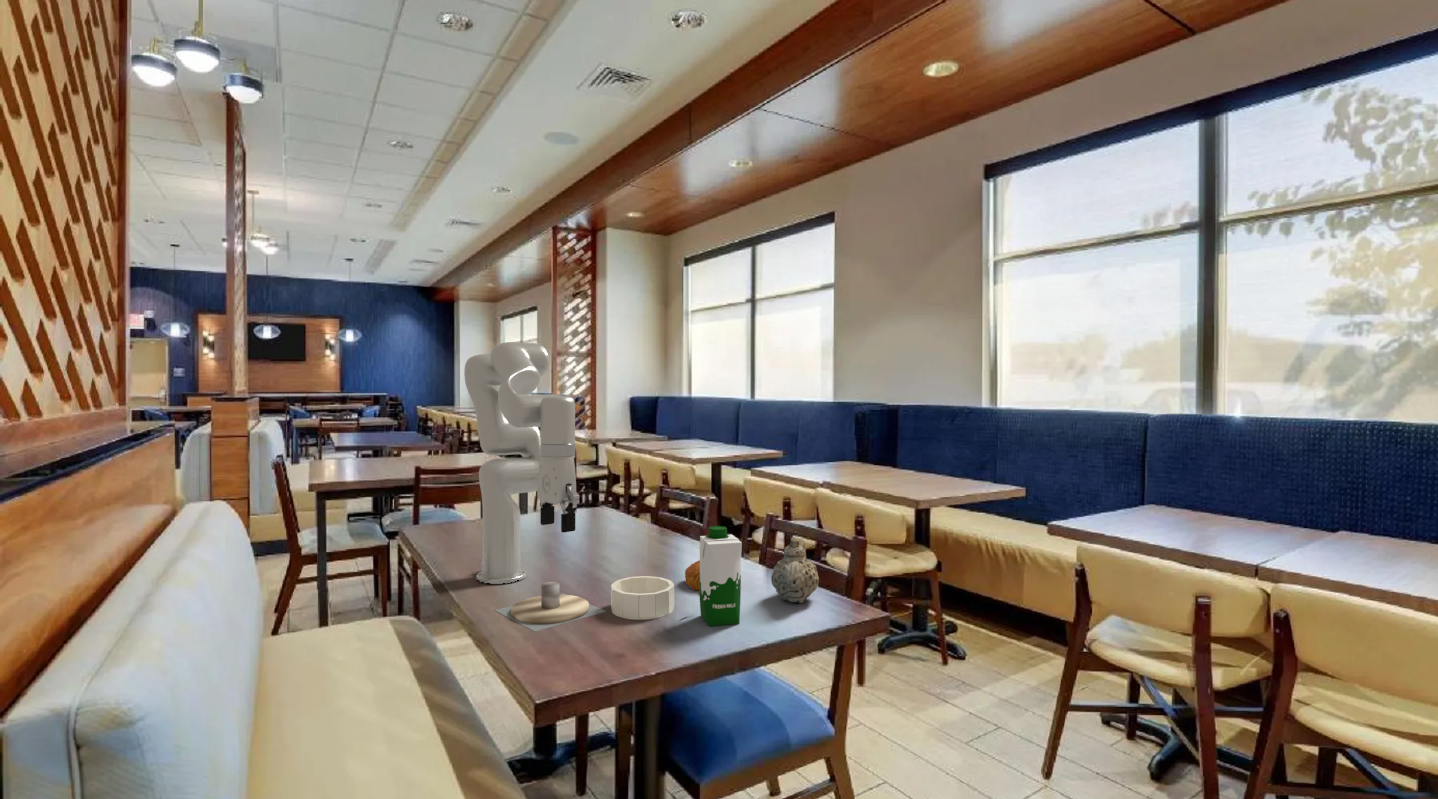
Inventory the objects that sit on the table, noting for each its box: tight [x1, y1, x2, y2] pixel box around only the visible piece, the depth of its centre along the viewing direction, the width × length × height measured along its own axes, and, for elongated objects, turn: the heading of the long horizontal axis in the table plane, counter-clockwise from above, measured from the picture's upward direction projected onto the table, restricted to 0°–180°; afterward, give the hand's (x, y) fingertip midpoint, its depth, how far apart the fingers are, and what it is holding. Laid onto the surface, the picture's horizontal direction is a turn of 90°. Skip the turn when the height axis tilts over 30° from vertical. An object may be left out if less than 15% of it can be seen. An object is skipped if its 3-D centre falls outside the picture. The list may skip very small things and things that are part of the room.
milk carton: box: [698, 525, 743, 627], centre depth 150 cm, size 9×9×20 cm
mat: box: [494, 592, 608, 633], centre depth 154 cm, size 18×18×1 cm
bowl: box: [610, 575, 675, 621], centre depth 155 cm, size 14×14×6 cm
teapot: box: [770, 536, 820, 604], centre depth 165 cm, size 21×12×15 cm, turn 168°
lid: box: [511, 581, 590, 624], centre depth 153 cm, size 17×17×6 cm
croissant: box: [684, 559, 700, 592], centre depth 177 cm, size 14×16×8 cm
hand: (557, 527), depth 152 cm, fingers open, 9 cm apart
